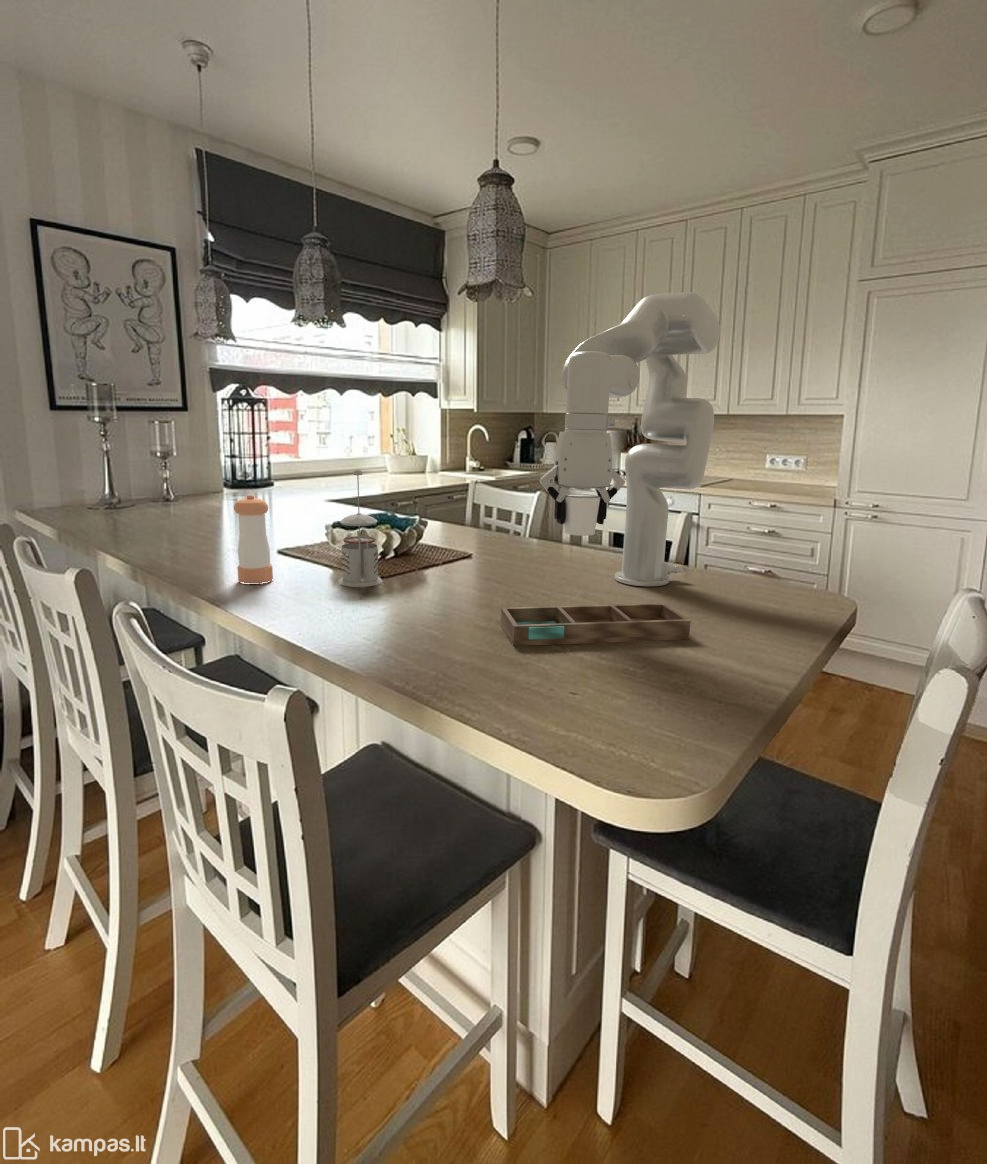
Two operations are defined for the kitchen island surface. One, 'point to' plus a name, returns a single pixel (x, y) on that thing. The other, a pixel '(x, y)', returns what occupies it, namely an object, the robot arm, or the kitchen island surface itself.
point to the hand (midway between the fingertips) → (579, 522)
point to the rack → (593, 624)
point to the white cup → (581, 514)
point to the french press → (359, 552)
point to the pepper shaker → (253, 541)
